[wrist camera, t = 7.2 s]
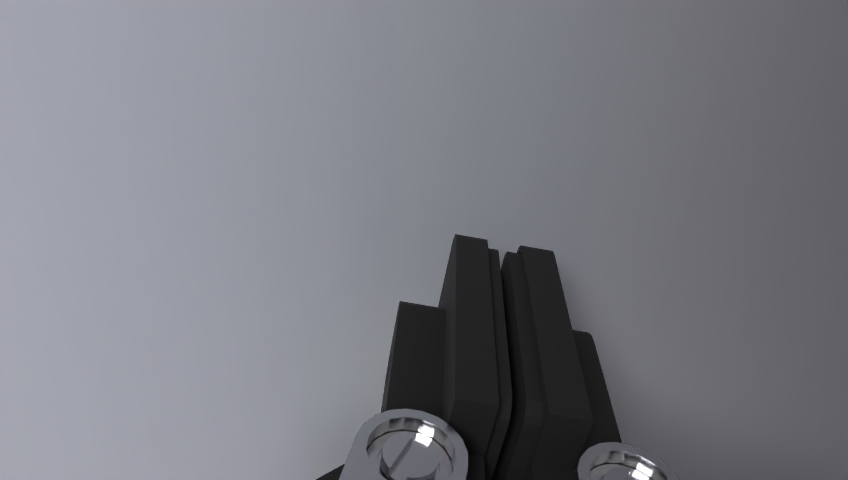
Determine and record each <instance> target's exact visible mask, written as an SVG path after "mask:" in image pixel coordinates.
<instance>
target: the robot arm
mask: <svg viewBox="0 0 848 480" xmlns="http://www.w3.org/2000/svg"><path fill="white" fill-rule="evenodd" d="M316 480H680V478H679V477H678V475H677V474H676V473H675V472H674V471H673V470H672V469H671V468H670V467H669V466H668V465H667V464H666V463H665V462H663V461H662V460H661V459H659V458H657V457H656V456H654V455H653V454H651V453H649V452H648V451H646V450H643V449H641V448H638V447H636V446H633V445H630V444H624V443H622V442H621V438H620V434H619V431H618V427H617V424H616V420H615V416H614V413H613V409H612V405H611V402H610V398H609V395H608V391H607V387H606V384H605V380H604V376H603V373H602V369H601V366H600V362H599V358H598V355H597V351H596V347H595V344H594V341H593V338H592V336H591V335H590V334H589V333H587V332H581V331H575V330H572V327H571V323H570V319H569V315H568V310H567V306H566V302H565V298H564V293H563V289H562V285H561V281H560V277H559V272H558V268H557V264H556V260H555V256H554V253H553V251H549V250H544V249H538V248H532V247H526V246H520V247H519V248H518V251H517V253H512V252H507V253H506V254H505V257H504V260H503V264H502V267H501V271H500V262H499V252H498V250H494V249H489V248H488V242H487V240H486V239H480V238H474V237H468V236H462V235H456V234H455V236H454V239H453V243H452V247H451V252H450V256H449V261H448V265H447V270H446V274H445V279H444V283H443V288H442V292H441V297H440V301H439V306H438V308H437V307H431V306H425V305H419V304H413V303H408V302H402V301H400V303H399V307H398V312H397V317H396V323H395V328H394V334H393V339H392V345H391V350H390V356H389V362H388V368H387V374H386V381H385V388H384V394H383V402H382V409H381V413H380V414H377V415H375V416H373V417H372V418H371V419H369V420H368V421H367V422H365V423H364V424H363V425H362V427H361V429H360V430H359V432H358V433H357V435H356V437H355V440H354V442H353V445H352V447H351V450H350V452H349V455H348V458H347V460H346V463H345V464H343V465H342V466H340V467H338V468H336V469H334V470H332V471H331V472H329V473H327V474H325V475H323V476H322V477H320V478H318V479H316Z"/></svg>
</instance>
